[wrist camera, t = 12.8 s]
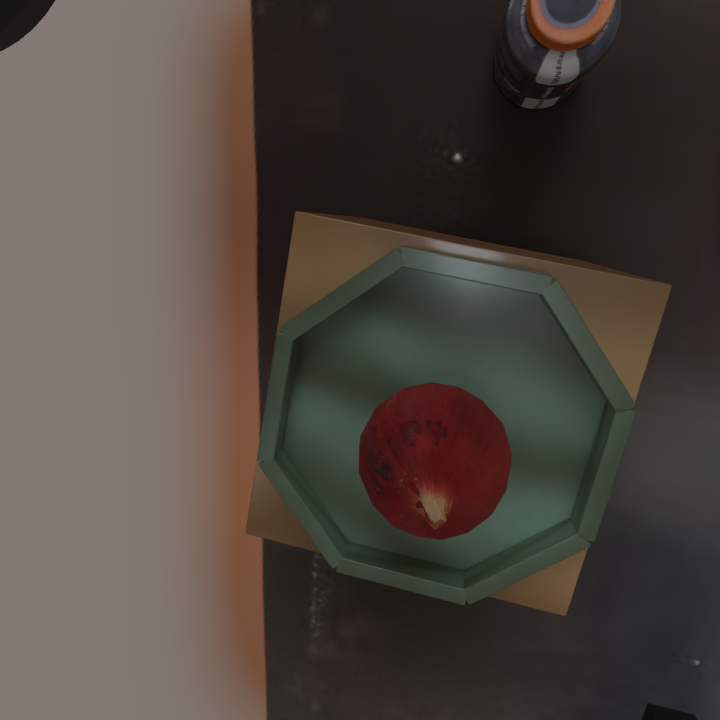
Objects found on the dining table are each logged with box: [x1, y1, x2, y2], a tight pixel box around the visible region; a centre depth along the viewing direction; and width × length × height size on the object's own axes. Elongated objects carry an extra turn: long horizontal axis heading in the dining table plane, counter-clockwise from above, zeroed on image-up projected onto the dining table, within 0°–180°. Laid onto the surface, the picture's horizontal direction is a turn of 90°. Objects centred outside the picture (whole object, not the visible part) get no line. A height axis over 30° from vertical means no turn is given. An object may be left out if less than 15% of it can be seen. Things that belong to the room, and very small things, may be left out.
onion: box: [359, 382, 512, 540], centre depth 22 cm, size 6×6×8 cm
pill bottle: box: [494, 0, 621, 109], centre depth 33 cm, size 6×6×11 cm
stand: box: [246, 211, 672, 616], centre depth 34 cm, size 16×16×20 cm
